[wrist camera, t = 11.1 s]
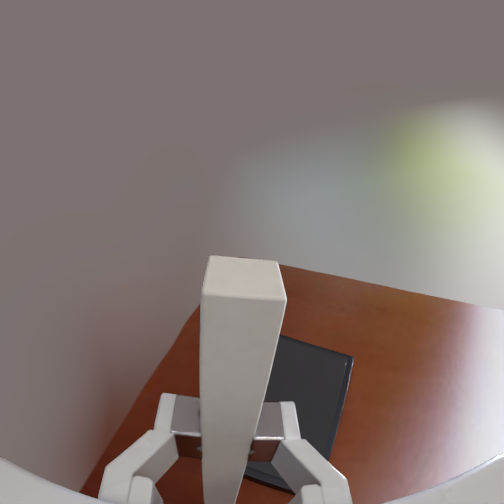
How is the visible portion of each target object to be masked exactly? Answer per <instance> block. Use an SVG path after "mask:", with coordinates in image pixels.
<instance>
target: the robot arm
mask: <svg viewBox="0 0 504 504" xmlns="http://www.w3.org/2000/svg"><path fill="white" fill-rule="evenodd" d="M201 446H202V434H201V428H200V398H198V397H189V396H182V395H176V394H168V393H162V395H161V398H160V402H159V407H158V411H157V416H156V420H155V425H154V430H149V431H147V432H146V433H145V434H144V435H143V436H142V437H141V438H139V439H138V440H137V441H136V442H135V443H134V444H132V445H131V446H130V447H129V448H128V449H126V450H125V451H124V452H123V453H122V454H120V455H119V456H118V457H117V458H116V459H114V460H113V461H112V462H111V463H109V464H108V465H107V466H106V467H105V471H104V475H103V479H102V483H101V487H100V491H99V495H98V499H96V498H93V497H90V496H87V495H84V494H81V493H78V492H75V491H72V490H70V489H67V488H65V487H62V486H60V485H57V484H55V483H52V482H50V481H48V480H45V479H43V478H41V477H39V476H37V475H35V474H33V473H31V472H28V471H26V470H25V469H22V468H21V467H19V466H17V465H15V464H13V463H11V462H10V461H8V460H6V459H4V458H2V457H1V456H0V504H163V500H162V498H161V496H160V495H159V493H158V491H157V489H156V487H155V483H156V482H157V481H158V480H159V479H160V478H161V477H162V476H163V475H164V474H165V473H166V471H167V470H168V469H169V468H170V467H171V466H172V465H173V464H174V462H175V461H176V460H177V459H178V458H179V457H189V458H201V459H202V448H201ZM178 456H179V457H178ZM247 460H248V461H256V462H271V464H272V465H273V466H274V468H275V469H276V470H277V471H278V473H279V474H280V475H281V477H282V478H283V479H284V480H285V482H286V483H287V484H288V485H289V487H290V488H291V489H292V490H293V492H294V493H295V494H296V495H295V496H294V497H293V498H292V500H291V501H290V502H289V503H288V504H353V503H352V499H351V495H350V490H349V486H348V482H347V479H346V478H345V477H344V476H343V475H342V474H341V473H340V472H338V471H337V470H336V469H335V468H334V467H333V466H332V465H331V464H330V463H329V462H328V461H327V460H326V459H325V458H324V457H323V456H322V455H321V454H320V453H319V452H318V451H317V450H316V449H314V448H313V447H312V446H311V445H310V444H309V443H308V442H307V441H306V440H305V439H301V436H300V430H299V425H298V419H297V413H296V408H295V404H294V402H293V401H288V402H279V401H263V405H262V409H261V413H260V417H259V421H258V424H257V428H256V432H255V435H254V437H253V441H252V444H251V450H250V452H249V455H248V459H247ZM382 504H504V454H499V455H497V456H495V457H493V458H491V459H490V460H488V461H486V462H484V463H482V464H480V465H479V466H477V467H475V468H473V469H471V470H469V471H467V472H465V473H463V474H461V475H458V476H456V477H454V478H452V479H450V480H447V481H445V482H443V483H440V484H438V485H435V486H433V487H430V488H428V489H425V490H423V491H420V492H417V493H414V494H411V495H408V496H405V497H402V498H399V499H396V500H393V501H389V502H386V503H382Z"/></svg>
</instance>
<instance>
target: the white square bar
mask: <svg viewBox="0 0 504 504" xmlns="http://www.w3.org/2000/svg"><path fill="white" fill-rule="evenodd" d="M286 302H287V298H286V294H285V290H284V285H283V281H282V277H281V273H280V269H279V265H278V262H276V261H268V260H257V259H245V258H234V257H223V256H210V257H209V258H208V262H207V267H206V272H205V276H204V281H203V286H202V291H201V309H200V428H201V434H202V446H201V448H202V477H203V493H204V503H205V504H235V501H236V498H237V495H238V491H239V488H240V485H241V481H242V478H243V475H244V471H245V468H246V464H247V461H248V460H247V459H248V455H249V452H250V450H251V444H252V441H253V437H254V435H255V432H256V428H257V424H258V421H259V417H260V413H261V409H262V405H263V401H264V397H265V393H266V389H267V385H268V381H269V377H270V373H271V369H272V365H273V360H274V356H275V352H276V347H277V343H278V339H279V334H280V330H281V325H282V321H283V316H284V312H285V307H286Z"/></svg>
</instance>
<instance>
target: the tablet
mask: <svg viewBox="0 0 504 504" xmlns="http://www.w3.org/2000/svg"><path fill="white" fill-rule="evenodd" d="M353 359H354V357H353V356H350V355H346V354H343V353H339V352H336V351H332V350H329V349H325V348H322V347H319V346H315V345H312V344H309V343H306V342H302V341H299V340H296V339H293V338H290V337H287V336H284V335H281V334H279V339H278V343H277V347H276V352H275V356H274V360H273V365H272V369H271V373H270V377H269V381H268V385H267V389H266V393H265V397H264V401H279V402H288V401H293V402H294V404H295V408H296V413H297V419H298V425H299V430H300V436H301V439H305V440H306V441H307V442H308V443H309V444H310V445H311V446H312V447H313V448H314V449H316V450H317V451H318V452H319V453H320V454H321V455H322V456H323V457H324V458H325V459H326V460H327V461H329V457H330V454H331V451H332V447H333V444H334V440H335V437H336V433H337V429H338V426H339V422H340V418H341V414H342V410H343V406H344V402H345V397H346V393H347V388H348V384H349V379H350V374H351V369H352V364H353ZM199 459H201V458H199ZM243 478H246V479H248V480H251V481H254V482H256V483H259V484H262V485H265V486H268V487H271V488H274V489H277V490H280V491H283V492H286V493H290V494H293V495H296V494H295V493H294V492H293V490H292V489H291V488H290V487H289V485H288V484H287V483H286V482H285V480H284V479H283V478H282V477H281V475H280V474H279V473H278V471H277V470H276V469H275V468H274V466H273V465H272V464H271V462H256V461H247V464H246V468H245V471H244V475H243Z"/></svg>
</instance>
